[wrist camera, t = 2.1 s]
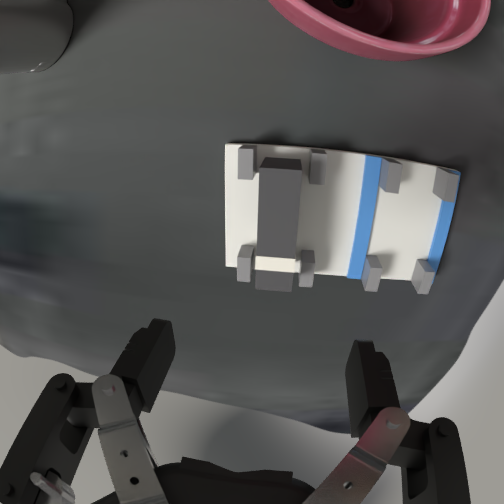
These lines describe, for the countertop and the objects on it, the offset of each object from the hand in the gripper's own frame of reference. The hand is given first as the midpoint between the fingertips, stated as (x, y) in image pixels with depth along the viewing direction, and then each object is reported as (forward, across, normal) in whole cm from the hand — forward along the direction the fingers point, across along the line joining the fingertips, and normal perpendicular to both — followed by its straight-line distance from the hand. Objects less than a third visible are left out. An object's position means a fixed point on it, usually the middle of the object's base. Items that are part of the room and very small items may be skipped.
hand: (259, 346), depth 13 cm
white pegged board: (+18, -6, 0) cm, 19 cm away
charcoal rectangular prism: (+17, 0, 0) cm, 17 cm away
